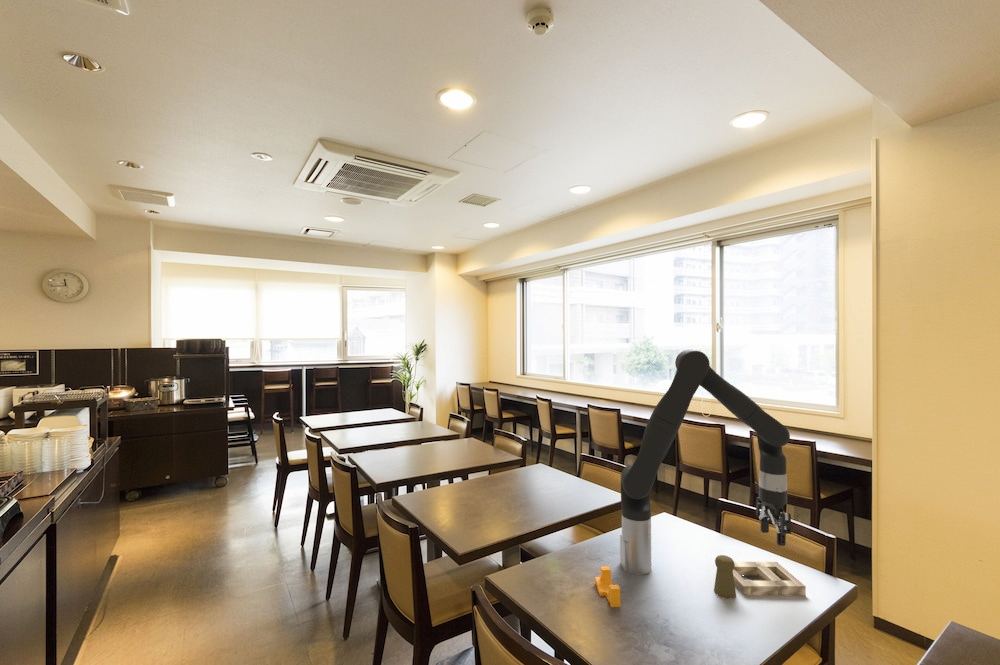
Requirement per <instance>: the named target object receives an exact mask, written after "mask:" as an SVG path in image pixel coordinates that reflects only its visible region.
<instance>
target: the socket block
mask: <svg viewBox="0 0 1000 665" xmlns="http://www.w3.org/2000/svg"><path fill="white" fill-rule="evenodd" d="M734 564H735V567H734V570H733V577H734V584H735V588H737V590H738V591H740V592H741V593H742V595H743V596H776V597H777V596H785V597H786V596H788V597H789V596H790V597H792V596H793V597H805V596H807V594H806V588H807V587H806V585H805V584H804V583H802V581H800V580H799V579H798V578H797V577H795V576H794V575H793V574H792V573H791V572H789V570H787V568H785V567H783V566H782V565H781V564H780V563H779V562H778V561H734ZM740 575H744V576H743V577H742V576H740ZM744 578H745V579H748V580H745V579H744Z"/></svg>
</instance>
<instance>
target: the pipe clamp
mask: <svg viewBox="0 0 1000 665" xmlns="http://www.w3.org/2000/svg"><path fill="white" fill-rule="evenodd" d="M594 585H595V586H596V590H597V591H598V594H599V597H600V596H601V597H606V598H607V599H606V600H608V603H609V604H610V607H611V608H621V588H620V586H619V584H613V580H612V570H611V568H610V566H605V565H604V566H600V576H595V577H594Z"/></svg>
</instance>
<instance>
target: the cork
mask: <svg viewBox="0 0 1000 665" xmlns="http://www.w3.org/2000/svg"><path fill="white" fill-rule="evenodd" d="M734 562H735V561H734V559H733V558H732V557H730V556H728V555H725V554H720V555H717V556H716V557H715V560H714V563H715V566H716V572H715V580H714V588H713V592H714V594H715V595H717V594H718V595H717V596H719V597H722V598H723V597H724V599H728V600H729V599H730V598H732V599H735V598H736V597H737V591H736V586H735V584H734V577H733V570H734V567H735V564H734Z"/></svg>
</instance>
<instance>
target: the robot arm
mask: <svg viewBox="0 0 1000 665" xmlns="http://www.w3.org/2000/svg"><path fill="white" fill-rule="evenodd" d="M674 363H675V368H676V372H675V374H674V377H673V380H672V381H671V384H670V386H669V388H668V389H667V391H666V392H665V393H664V395H663V396H662V397H661V399H659V402H657V405H656V406H655V407H654V409H653V411H652V413H651V415H650V417H649V419H648V421H647V422H646V425H645V429H644V432H643V436H642V440H641V443H640V448H639V452H638V454H637V455H636V456H637V457H636V458H635V460H634V462H633V463H630V464H627V465H626V466H625V467H623V469H622V471H621V472H620V473H621V474H620V506H621V534H620V535H619V552H620V553H619V555H620V557H619V558H620V560H619V562H620V565H621V567H622V570H623V571H624V573H629V574H632V575H636V576H645V575H648V574H650V573H651V572H652V566H653V565H652V509H651V508H652V507H651V500H650V498H651V497H650V496H651V495H650V493H651V491H652V490H653V489H652V488H653V486H654V483H655V480H656V478H657V474H658V472H659V469H660V466H661V464H662V462H663V460H664V458H665V457H666V455H667V453H668V451H669V449H670V448H671V446H672V444H673V442H674V440H675V438H676V436H677V434H678V432H679V430H680V428H681V425H682V423H683V421H684V419H685V416H686V414H687V412H688V410H689V407H690V404H691V402H692V400H693V397H694V396H695V394H696V392H697V391H698V390H699V387H702V388H703V389H704V390H706V391H707V392H708V393H709V394H710V395H711V396H712V397H714V398H715V399H716V400H717V401H718V402H719V404H721V405H723V406H724V407H725V408H726V409H727V410H728V411H729V412H730V413H731V414H732V415H734V416H735V417H736V418H737V419H738V420H740V421H741V422H742V423H744V424H745V425H747V426H748V427H750V428H751V429H752V430H753V431H754V432H755V433H756V437H757V445H758V446H757V447H758V449H759V474H758V497H757V496H756V500H755V515H756V516H757V517H758V518H759V521H760V532H761V533H763V534H767V533H769V532H770V530H769V528H770V527H769V526H770V522H769V520H771V522H772V525H773V526H774V527H775V529H776V544H777V545H778V546H780V547H782V546H783V547H784V546H786V543H787V540H786V537H787V536H786V535H791V534H792V517H791V516H792V515H791V513H790V512H785V511H784V506H785V505H787V504H788V478H787V459H786V455H785V454H784V452H783V447H784V446H786V445H787V444H788V443H789V442H790V438H791V435H790V434H791V433H790V432H789V430H788V429H787V427H786V426H785V425H783V424H782V423H781V422H780V421H778V420H777V419H776V418H775V417H773V416H772V415H770V414H769V413H767V412H766V411H765V410H764V409H763V408H762V407H761V406H759V404H757V403H756V402H755V401H754V400H753V399H752V398H750V397H749V396H748V395H746V394H745V393H744V392H743V391H741V390H740V389H738V388H737V387H736V386H734V385H733V384H731V383H730V382H729V381H727V380H726V379H724V377H723V378H722V376H721V375H720V374H718V373H717V372H716V370H714V369H713V368H712V367H711V365H710V359H709V358H708V356H707V354H705V353H704V352H703V351H701V350H697V349H686V350H682V351H681V352H680V353H678V354H677V356H676V358H675V362H674Z"/></svg>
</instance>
